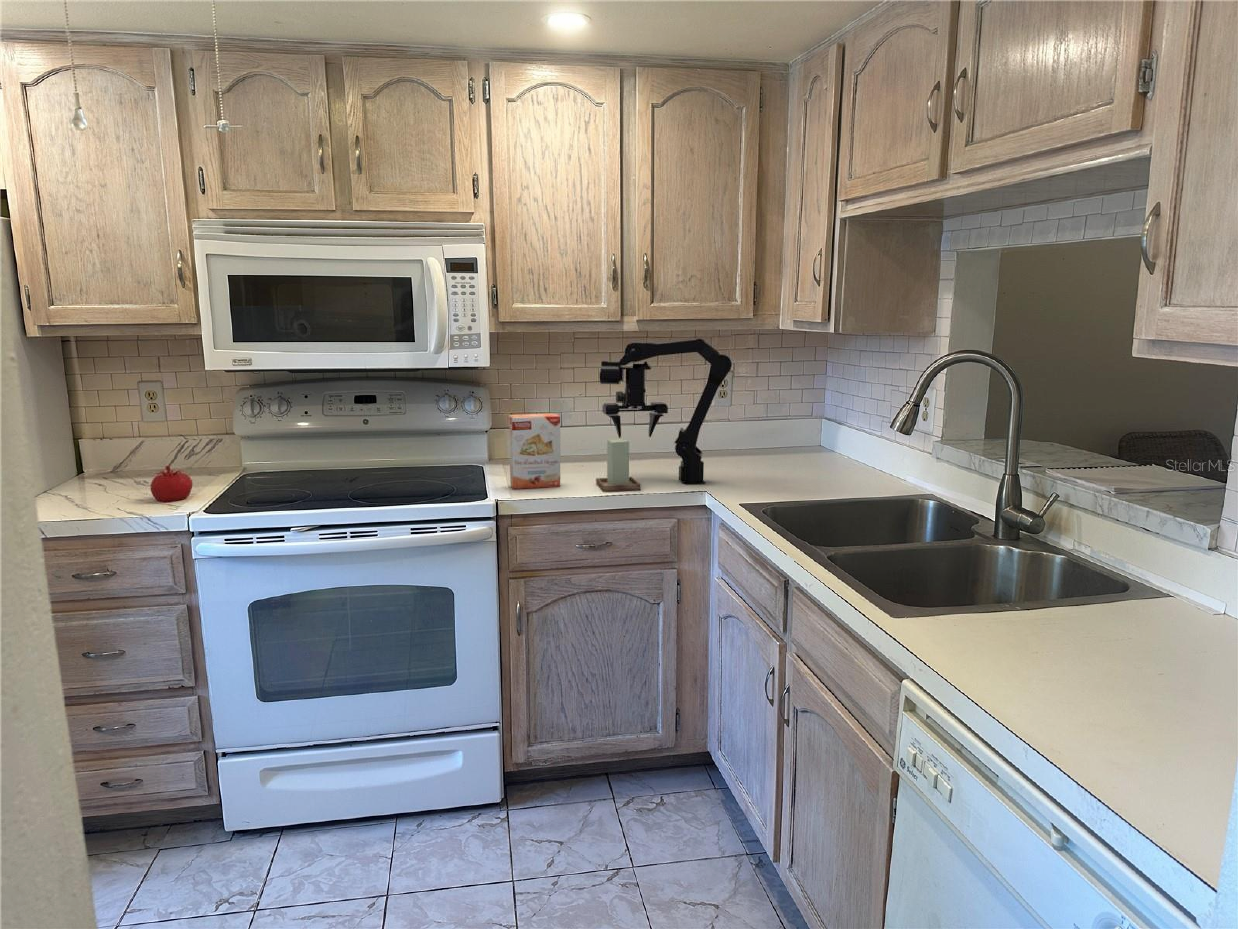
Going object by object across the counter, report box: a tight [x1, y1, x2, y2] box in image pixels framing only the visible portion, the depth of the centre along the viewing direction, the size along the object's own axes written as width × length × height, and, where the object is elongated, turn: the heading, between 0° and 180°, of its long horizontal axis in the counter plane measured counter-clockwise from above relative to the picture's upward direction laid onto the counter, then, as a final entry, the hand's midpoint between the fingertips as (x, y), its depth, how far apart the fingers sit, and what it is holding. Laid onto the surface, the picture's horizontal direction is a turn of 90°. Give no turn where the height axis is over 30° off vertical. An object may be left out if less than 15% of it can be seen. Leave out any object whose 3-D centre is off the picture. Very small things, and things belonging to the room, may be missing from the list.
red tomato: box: [150, 465, 194, 503], centre depth 222 cm, size 10×10×9 cm
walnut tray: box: [595, 476, 641, 493], centre depth 237 cm, size 11×11×2 cm
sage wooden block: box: [606, 438, 630, 485], centre depth 236 cm, size 5×5×13 cm
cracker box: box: [508, 413, 561, 490], centre depth 237 cm, size 14×6×21 cm, turn 105°
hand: (634, 437), depth 244 cm, fingers open, 9 cm apart
